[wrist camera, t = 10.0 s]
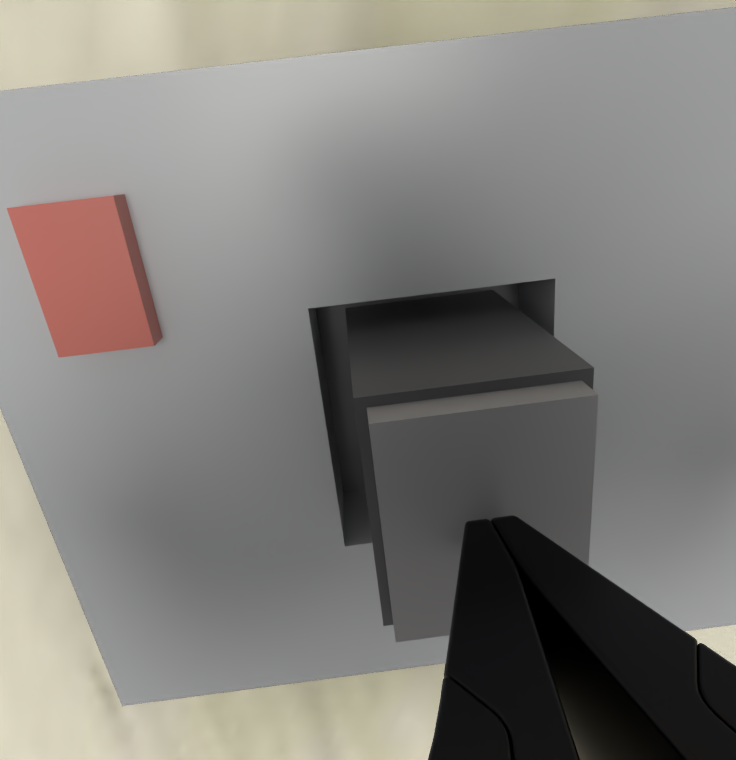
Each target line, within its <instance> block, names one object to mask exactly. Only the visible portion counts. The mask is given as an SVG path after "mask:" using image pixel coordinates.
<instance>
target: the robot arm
mask: <svg viewBox="0 0 736 760" xmlns="http://www.w3.org/2000/svg"><path fill="white" fill-rule="evenodd" d="M428 760H736V666H735V665H734V664H732V663H730V662H729V661H727V660H726V659H725V658H723V657H722V656H720V655H719V654H717V653H716V652H714V651H713V650H711V649H710V648H708V647H707V646H706V645H704V644H702V643H699V644H698V646H697V640H696V639H695V638H694V637H692V636H691V635H689V634H688V633H686V632H685V631H683V630H682V629H680V628H679V627H677V626H676V625H675V624H673V623H672V622H670V621H669V620H667V619H666V618H664V617H663V616H661V615H660V614H659V613H657V612H656V611H654V610H653V609H651V608H650V607H648V606H647V605H645V604H644V603H642V602H641V601H640V600H638V599H637V598H635V597H634V596H632V595H631V594H629V593H628V592H626V591H625V590H623V589H622V588H621V587H619V586H618V585H616V584H615V583H613V582H612V581H610V580H609V579H607V578H606V577H605V576H603V575H602V574H600V573H599V572H597V571H596V570H594V569H593V568H591V567H590V566H588V565H587V564H586V563H584V562H583V561H581V560H580V559H578V558H577V557H575V556H574V555H572V554H571V553H570V552H568V551H567V550H565V549H564V548H562V547H561V546H559V545H558V544H556V543H555V542H553V541H552V540H551V539H549V538H548V537H546V536H545V535H543V534H542V533H540V532H539V531H537V530H536V529H534V528H533V527H532V526H530V525H529V524H527V523H526V522H524V521H523V520H521V519H520V518H518V517H517V516H514V515H510V516H502V517H495V518H492V519H491V521H490V520H488V519H479V520H471V521H467V522H466V523H465V527H464V534H463V541H462V548H461V556H460V563H459V570H458V577H457V585H456V592H455V599H454V606H453V614H452V621H451V628H450V635H449V643H448V650H447V657H446V664H445V672H444V679H443V684H442V691H441V698H440V705H439V711H438V716H437V722H436V727H435V733H434V738H433V742H432V746H431V750H430V754H429V758H428Z"/></svg>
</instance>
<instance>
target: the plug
mask: <svg viewBox="0 0 736 760" xmlns="http://www.w3.org/2000/svg"><path fill="white" fill-rule="evenodd" d="M345 311H346V322H347V334H348V345H349V357H350V368H351V380H352V391H353V401H354V409H355V416H356V424H357V431H358V439H359V446H360V454H361V461H362V469H363V476H364V484H365V491H366V499H367V506H368V514H369V521H370V529H371V536H372V544H373V551H374V559H375V566H376V574H377V581H378V589H379V596H380V604H381V611H382V619H383V626H388V625H394V632H395V640H396V642H403V641H411V640H418V639H425V638H433V637H440V636H448V635H450V628H451V621H452V614H453V606H454V599H455V592H456V585H457V577H458V570H459V563H460V556H461V548H462V541H463V534H464V527H465V523H466V522H467V521H471V520H479V519H488V520H490V521H491V519H492V518H495V517H502V516H510V515H514V516H517V517H518V518H520V519H521V520H523V521H524V522H526V523H527V524H529V525H530V526H532V527H533V528H534V529H536V530H537V531H539V532H540V533H542V534H543V535H545V536H546V537H548V538H549V539H551V540H552V541H553V542H555V543H556V544H558V545H559V546H561V547H562V548H564V549H565V550H567V551H568V552H570V553H571V554H572V555H574V556H575V557H577V558H578V559H580V560H581V561H583V562H584V563H586V564H587V565H588V566H589V549H590V532H591V514H592V497H593V480H594V463H595V446H596V429H597V412H598V394H597V393H596V392H595V391H594V390H593V381H594V367H593V366H591V365H590V364H589V363H587V362H586V361H585V360H584V359H582V358H581V357H580V356H578V355H577V354H576V353H574V352H573V351H572V350H571V349H569V348H568V347H567V346H565V345H564V344H563V343H561V342H560V341H559V340H558V339H556V338H555V337H554V336H552V335H551V334H550V333H548V332H547V331H546V330H544V329H543V328H542V327H541V326H539V325H538V324H537V323H535V322H534V321H533V320H531V319H530V318H529V317H528V316H526V315H525V314H524V313H522V312H521V311H520V310H518V309H517V308H516V307H515V306H513V305H512V304H511V303H509V302H508V301H507V300H505V299H504V298H503V297H501V296H500V295H499V294H498V293H496V292H495V291H494V290H486V291H478V292H470V293H462V294H454V295H446V296H438V297H430V298H422V299H414V300H406V301H398V302H390V303H382V304H373V305H365V306H357V307H349V308H345Z"/></svg>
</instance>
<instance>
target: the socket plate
mask: <svg viewBox="0 0 736 760" xmlns="http://www.w3.org/2000/svg"><path fill="white" fill-rule="evenodd" d="M486 290H494V291H495V292H496V293H498V294H499V295H500V296H501V297H503V298H504V299H505V300H507V301H508V302H509V303H511V304H512V305H513V306H515V307H516V308H517V309H518V310H520V311H521V312H522V313H524V314H525V315H526V316H528V317H529V318H530V319H531V320H533V321H534V322H535V323H537V324H538V325H539V326H541V327H542V328H543V329H544V330H546V331H547V332H548V333H550V334H551V335H552V336H554V337H555V338H556V339H558V340H559V341H560V342H561V343H563V344H564V345H565V346H567V347H568V348H569V349H571V350H572V351H573V352H574V353H576V354H577V355H578V356H580V357H581V358H582V359H584V360H585V361H586V362H587V363H589V364H590V365H591V366H593V367H594V381H593V390H594V391H595V392H596V393H597V394H598V412H597V429H596V446H595V463H594V480H593V497H592V514H591V532H590V549H589V566H590V567H591V568H593V569H594V570H596V571H597V572H599V573H600V574H602V575H603V576H605V577H606V578H607V579H609V580H610V581H612V582H613V583H615V584H616V585H618V586H619V587H621V588H622V589H623V590H625V591H626V592H628V593H629V594H631V595H632V596H634V597H635V598H637V599H638V600H640V601H641V602H642V603H644V604H645V605H647V606H648V607H650V608H651V609H653V610H654V611H656V612H657V613H659V614H660V615H661V616H663V617H664V618H666V619H667V620H669V621H670V622H672V623H673V624H675V625H676V626H677V627H679V628H680V629H682V630H683V631H690V630H698V629H705V628H713V627H720V626H728V625H735V624H736V7H732V8H723V9H714V10H705V11H696V12H688V13H679V14H670V15H661V16H653V17H644V18H635V19H626V20H617V21H609V22H600V23H591V24H582V25H574V26H565V27H556V28H547V29H538V30H530V31H521V32H512V33H503V34H495V35H486V36H477V37H468V38H459V39H451V40H442V41H433V42H424V43H416V44H407V45H398V46H389V47H380V48H372V49H363V50H354V51H345V52H337V53H328V54H319V55H310V56H301V57H293V58H284V59H275V60H266V61H258V62H249V63H240V64H231V65H222V66H214V67H205V68H196V69H187V70H179V71H170V72H161V73H152V74H143V75H135V76H126V77H117V78H108V79H100V80H91V81H82V82H73V83H64V84H56V85H47V86H38V87H29V88H21V89H12V90H3V91H0V409H1V411H2V414H3V416H4V419H5V421H6V423H7V426H8V428H9V431H10V433H11V436H12V438H13V441H14V443H15V445H16V448H17V450H18V453H19V455H20V458H21V460H22V463H23V465H24V467H25V470H26V472H27V475H28V477H29V480H30V482H31V484H32V487H33V489H34V492H35V494H36V497H37V499H38V502H39V504H40V506H41V509H42V511H43V514H44V516H45V519H46V521H47V524H48V526H49V528H50V531H51V533H52V536H53V538H54V541H55V543H56V545H57V548H58V550H59V553H60V555H61V558H62V560H63V563H64V565H65V567H66V570H67V572H68V575H69V577H70V580H71V582H72V585H73V587H74V589H75V592H76V594H77V597H78V599H79V602H80V604H81V607H82V609H83V611H84V614H85V616H86V619H87V621H88V624H89V626H90V628H91V631H92V633H93V636H94V638H95V641H96V643H97V646H98V648H99V650H100V653H101V655H102V658H103V660H104V663H105V665H106V668H107V670H108V672H109V675H110V677H111V680H112V682H113V685H114V687H115V689H116V692H117V694H118V697H119V699H120V702H121V704H122V706H126V705H133V704H141V703H149V702H156V701H164V700H171V699H179V698H186V697H194V696H201V695H209V694H216V693H224V692H231V691H239V690H246V689H254V688H261V687H269V686H276V685H284V684H291V683H299V682H307V681H314V680H322V679H329V678H337V677H344V676H352V675H359V674H367V673H374V672H382V671H389V670H397V669H404V668H412V667H419V666H427V665H434V664H442V663H446V657H447V650H448V643H449V635H448V636H440V637H433V638H425V639H418V640H411V641H403V642H396V640H395V632H394V625H388V626H383V619H382V611H381V604H380V596H379V589H378V581H377V574H376V566H375V559H374V551H373V544H372V536H371V529H370V521H369V514H368V506H367V499H366V491H365V484H364V476H363V469H362V461H361V454H360V446H359V439H358V431H357V424H356V416H355V409H354V401H353V391H352V380H351V368H350V357H349V345H348V334H347V322H346V311H345V308H349V307H357V306H365V305H373V304H382V303H390V302H398V301H406V300H414V299H422V298H430V297H438V296H446V295H454V294H462V293H470V292H478V291H486Z"/></svg>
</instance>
